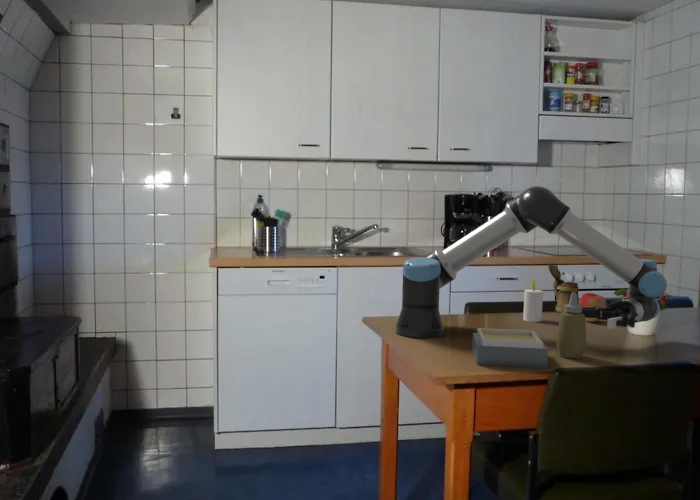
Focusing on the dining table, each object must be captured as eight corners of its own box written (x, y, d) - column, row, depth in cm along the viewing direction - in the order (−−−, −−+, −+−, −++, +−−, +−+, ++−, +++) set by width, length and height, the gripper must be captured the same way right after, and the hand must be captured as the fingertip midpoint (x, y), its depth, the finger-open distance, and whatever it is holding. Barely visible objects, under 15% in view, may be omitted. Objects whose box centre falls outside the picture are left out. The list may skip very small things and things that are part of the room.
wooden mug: (553, 307, 270) (555, 262, 269) (584, 312, 260) (587, 265, 259) (540, 309, 264) (543, 263, 263) (572, 314, 254) (575, 267, 253)
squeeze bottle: (587, 361, 186) (591, 295, 184) (556, 358, 187) (560, 294, 185) (583, 354, 193) (587, 291, 192) (554, 352, 195) (557, 289, 193)
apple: (572, 320, 242) (573, 293, 241) (586, 317, 249) (587, 290, 248) (597, 325, 235) (599, 296, 234) (611, 322, 242) (612, 294, 241)
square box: (476, 364, 179) (477, 340, 178) (472, 350, 195) (473, 327, 194) (546, 367, 177) (548, 343, 177) (536, 353, 193) (537, 330, 193)
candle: (544, 319, 243) (546, 278, 242) (538, 322, 238) (540, 280, 236) (526, 317, 246) (528, 276, 245) (520, 320, 241) (522, 278, 240)
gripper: (664, 332, 197) (627, 341, 184) (586, 317, 216) (547, 325, 203) (666, 306, 196) (629, 313, 183) (588, 294, 215) (549, 300, 202)
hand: (586, 319), depth 193 cm, fingers open, 13 cm apart
